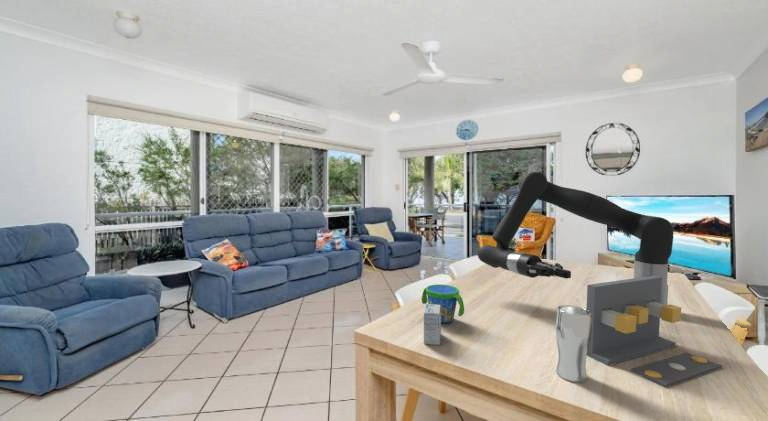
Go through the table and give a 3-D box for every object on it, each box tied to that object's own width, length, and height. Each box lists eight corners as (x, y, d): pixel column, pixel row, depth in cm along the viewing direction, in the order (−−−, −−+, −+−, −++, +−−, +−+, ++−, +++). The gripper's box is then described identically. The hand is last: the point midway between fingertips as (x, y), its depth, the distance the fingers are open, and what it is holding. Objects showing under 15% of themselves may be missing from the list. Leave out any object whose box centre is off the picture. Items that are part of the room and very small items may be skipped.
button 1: (597, 317, 89) (597, 303, 88) (636, 332, 80) (637, 315, 79) (586, 319, 87) (587, 304, 87) (625, 334, 78) (626, 318, 78)
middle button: (610, 310, 94) (610, 296, 94) (648, 323, 85) (649, 307, 85) (600, 312, 93) (601, 298, 93) (638, 325, 84) (639, 309, 84)
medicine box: (439, 346, 89) (440, 314, 89) (423, 344, 90) (423, 312, 90) (440, 333, 97) (441, 304, 96) (425, 332, 98) (425, 303, 97)
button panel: (635, 332, 99) (638, 272, 98) (675, 346, 90) (679, 280, 89) (570, 347, 89) (573, 280, 88) (608, 365, 80) (611, 291, 79)
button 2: (640, 309, 95) (640, 295, 95) (680, 321, 86) (681, 306, 86) (631, 311, 94) (631, 297, 94) (671, 323, 85) (672, 308, 85)
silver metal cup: (547, 367, 78) (550, 305, 78) (575, 366, 79) (578, 304, 78) (566, 384, 71) (569, 316, 71) (597, 383, 72) (600, 315, 71)
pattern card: (686, 354, 85) (686, 351, 85) (721, 367, 79) (722, 364, 79) (630, 371, 77) (630, 367, 77) (665, 387, 71) (665, 383, 71)
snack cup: (471, 324, 104) (472, 291, 104) (448, 331, 98) (448, 297, 98) (436, 309, 117) (436, 280, 116) (413, 315, 111) (413, 285, 110)
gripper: (508, 254, 112) (553, 264, 96) (538, 251, 117) (584, 260, 101) (508, 277, 112) (552, 290, 96) (538, 272, 117) (584, 284, 101)
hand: (569, 274), depth 98 cm, fingers closed
